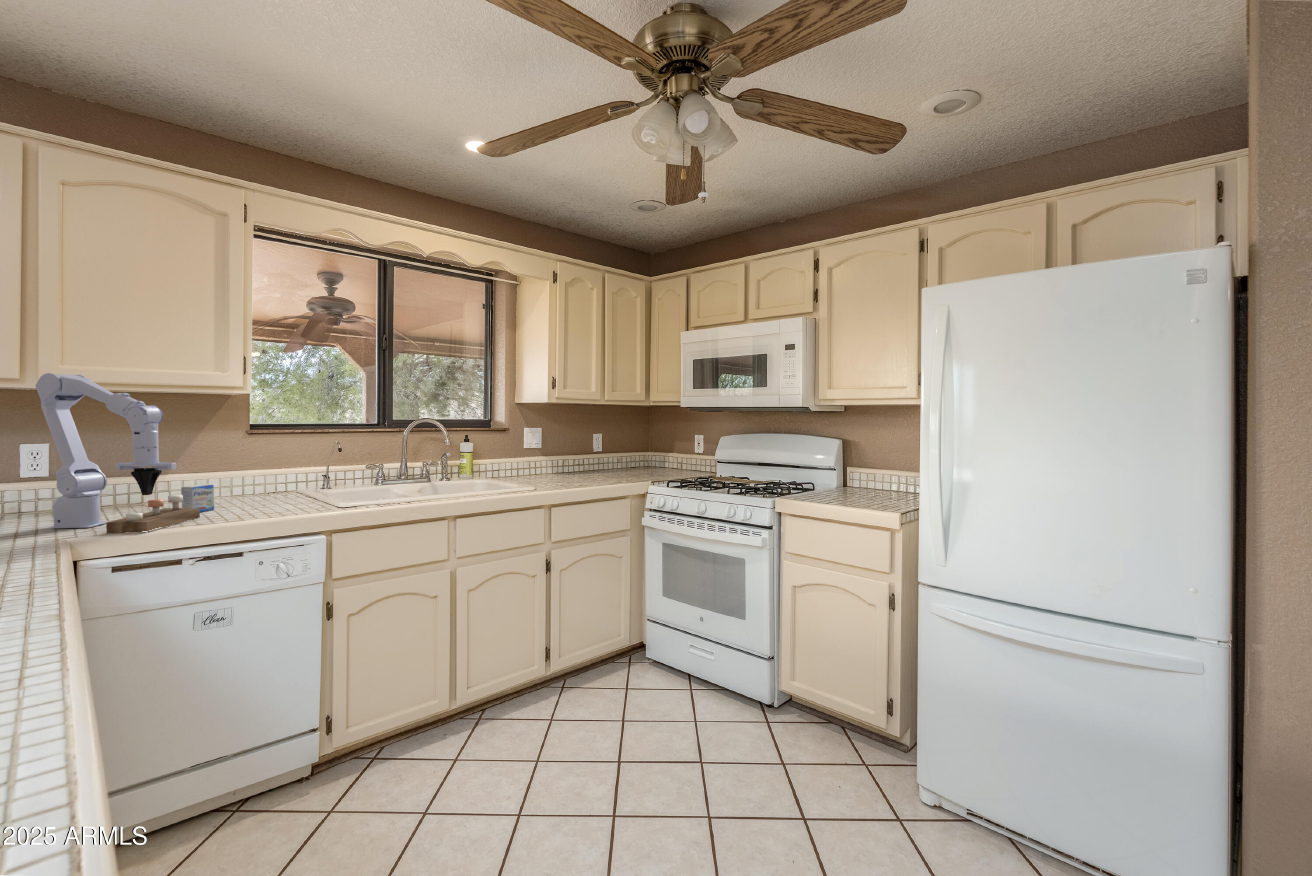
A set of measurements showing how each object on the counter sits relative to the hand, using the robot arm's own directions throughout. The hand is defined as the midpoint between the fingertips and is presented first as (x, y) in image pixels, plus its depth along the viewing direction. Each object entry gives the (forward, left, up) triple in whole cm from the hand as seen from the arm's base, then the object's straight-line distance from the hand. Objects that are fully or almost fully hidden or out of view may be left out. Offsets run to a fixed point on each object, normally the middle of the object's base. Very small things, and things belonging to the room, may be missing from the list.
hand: (147, 494), depth 175 cm
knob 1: (0, -5, -9) cm, 11 cm away
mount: (0, +3, -9) cm, 10 cm away
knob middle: (0, +3, -7) cm, 7 cm away
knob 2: (0, +12, -7) cm, 14 cm away
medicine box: (-2, +27, -10) cm, 29 cm away
